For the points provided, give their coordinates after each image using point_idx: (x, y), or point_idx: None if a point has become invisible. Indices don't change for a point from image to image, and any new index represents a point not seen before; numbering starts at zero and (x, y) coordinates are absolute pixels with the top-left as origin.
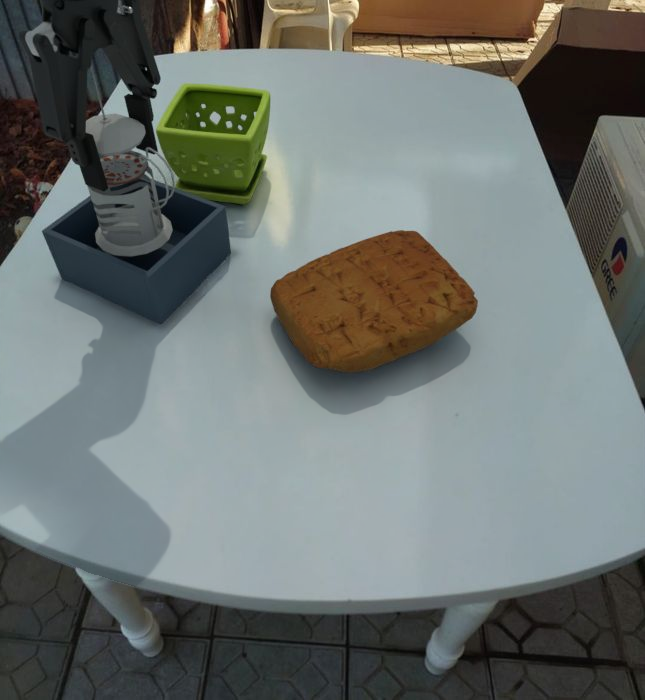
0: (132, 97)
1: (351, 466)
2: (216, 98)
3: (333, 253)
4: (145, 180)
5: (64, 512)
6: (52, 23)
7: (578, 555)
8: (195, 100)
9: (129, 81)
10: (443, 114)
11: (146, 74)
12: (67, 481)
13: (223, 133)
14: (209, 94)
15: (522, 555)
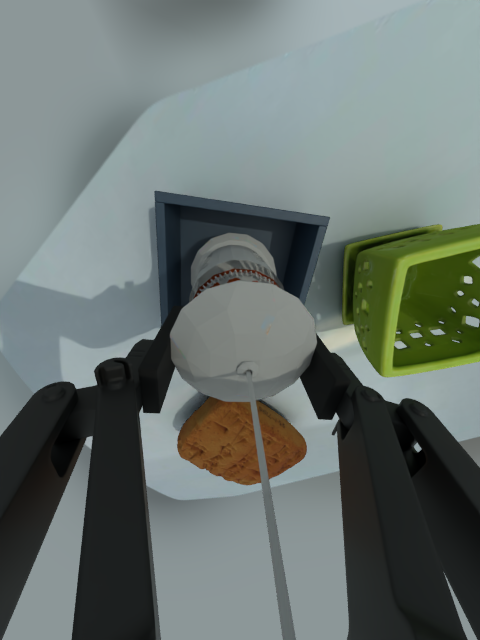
0: (334, 395)
1: (149, 438)
2: None
3: (263, 432)
4: (310, 260)
5: (19, 348)
6: None
7: (163, 491)
8: None
9: (350, 439)
10: None
11: (400, 440)
12: (33, 338)
13: (393, 349)
14: None
15: (152, 482)
